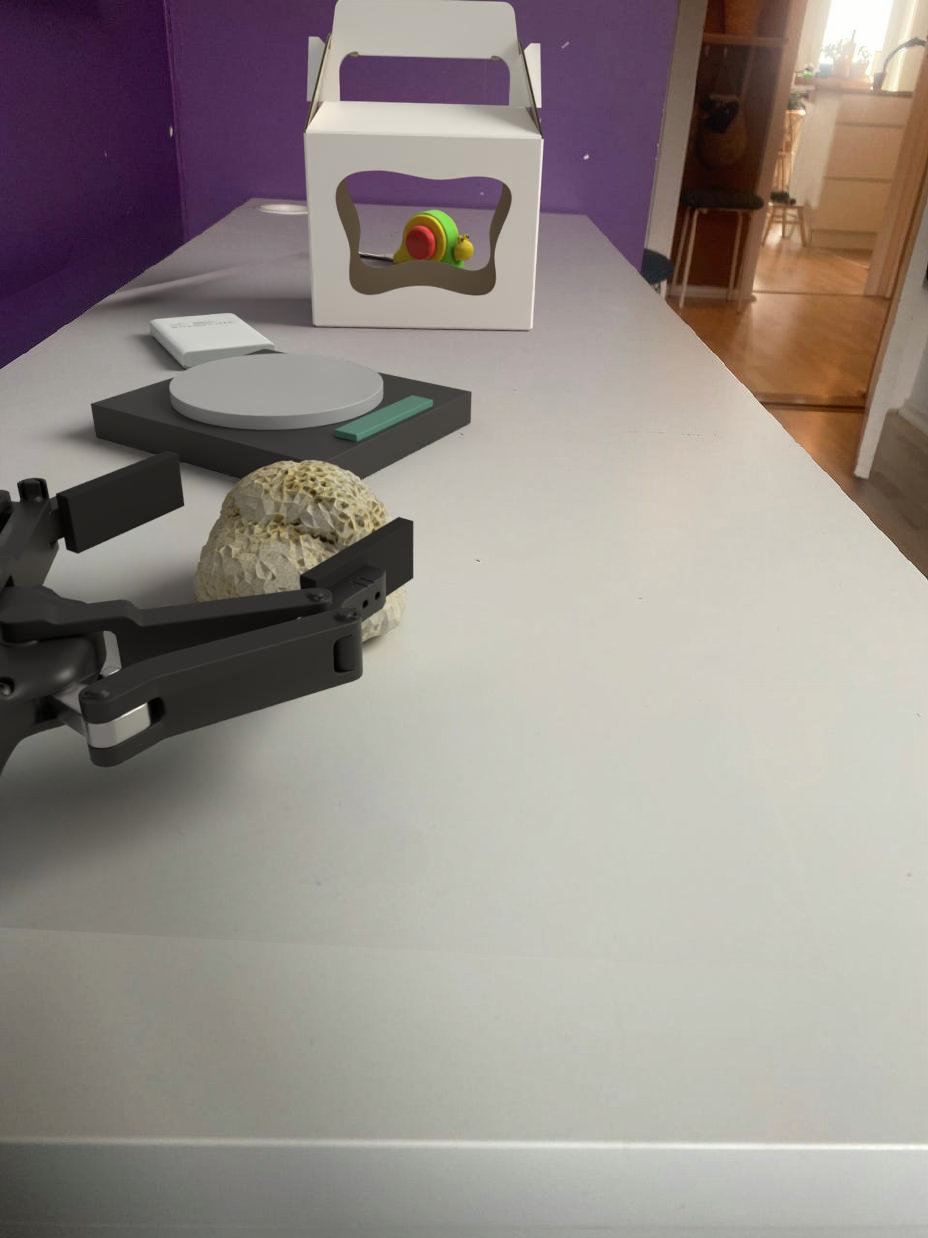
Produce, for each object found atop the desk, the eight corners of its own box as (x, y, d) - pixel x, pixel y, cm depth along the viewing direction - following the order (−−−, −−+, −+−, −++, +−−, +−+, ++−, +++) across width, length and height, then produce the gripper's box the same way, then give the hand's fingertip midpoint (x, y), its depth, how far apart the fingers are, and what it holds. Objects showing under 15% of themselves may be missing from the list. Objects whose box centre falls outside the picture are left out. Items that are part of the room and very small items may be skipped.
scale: (95, 436, 70) (87, 389, 69) (266, 376, 84) (263, 336, 82) (320, 501, 62) (318, 448, 60) (470, 422, 75) (472, 377, 73)
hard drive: (183, 371, 85) (150, 335, 94) (276, 360, 88) (235, 327, 98) (181, 351, 84) (148, 317, 93) (275, 342, 87) (234, 310, 97)
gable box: (524, 301, 111) (540, 5, 97) (534, 331, 100) (555, 0, 86) (322, 297, 110) (309, -2, 96) (310, 326, 99) (293, -8, 85)
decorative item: (161, 493, 52) (334, 404, 52) (247, 629, 55) (407, 546, 56) (145, 573, 41) (363, 460, 41) (253, 735, 45) (453, 631, 45)
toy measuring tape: (458, 276, 122) (459, 218, 119) (331, 256, 131) (329, 202, 127) (484, 268, 127) (486, 212, 124) (360, 250, 135) (359, 197, 132)
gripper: (-341, 714, 37) (106, 521, 53) (129, 1020, 26) (517, 661, 42) (-425, 532, 34) (83, 382, 49) (82, 798, 23) (527, 496, 38)
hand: (284, 510), depth 46 cm, fingers open, 13 cm apart
